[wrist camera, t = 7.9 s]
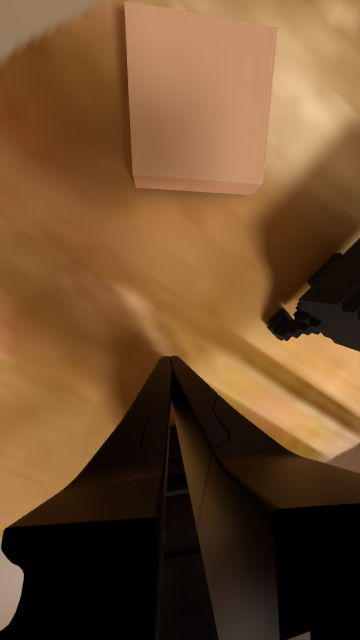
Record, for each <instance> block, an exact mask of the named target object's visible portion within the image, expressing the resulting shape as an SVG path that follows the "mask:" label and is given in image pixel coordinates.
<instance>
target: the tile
mask: <svg viewBox="0 0 360 640" xmlns="http://www.w3.org/2000/svg"><path fill="white" fill-rule="evenodd" d="M124 5H125V26H126V47H127V68H128V89H129V110H130V131H131V153H132V174H133V179H134V182H135V186H136V188H149V189H165V190H181V191H197V192H212V193H228V194H244V195H252V194H253V193H254V192H255V191H256V190H257V189H259V188H260V187H261V186H262V185H263V178H264V167H265V156H266V146H267V135H268V124H269V114H270V103H271V92H272V82H273V71H274V61H275V50H276V39H277V29H278V28H277V27H271V26H266V25H260V24H254V23H249V22H243V21H237V20H232V19H226V18H220V17H215V16H209V15H203V14H198V13H192V12H186V11H180V10H175V9H169V8H163V7H158V6H152V5H146V4H141V3H135V2H129V1H124Z"/></svg>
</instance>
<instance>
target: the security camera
mask: <svg viewBox="0 0 360 640" xmlns="http://www.w3.org/2000/svg"><path fill="white" fill-rule="evenodd" d="M307 282H308V284H309V285H310V286H311V288H310V289H309V290H308V291H307V292H306V293H305V294H304V295H303V296H302V297H301V298H300V299H299V302H298V303H297V305H298V306H297V307H296V309H297V311H296V312H295V313H294V314H293V315H294V316H295V317H294V318H295V319H293V318H292V317H291V316H290V315H289V314H288V313H287V312H286V310H285V309H279V310H278V312H277V313H276V314H275V315H274V316H273V317H272V318H271V319H270V320H269V321H268V323H269V324H270V325H269V326H268V327H267V328H268V329H269V330H270V331H271V332H272V333H273V334H274V335H275V336H276V338H277V339H279V340H281V341H282V340H283V339H284V340H286V341H288V340H289V339H290V338H291V337H292V336H293V337H295V338H298V337H299V336H300V335H301V334H302V333H303V334H306V335H309V334H310V333H314V334H317V335H318V334H319V333H320V332H321V333H322V334H323V335H324V336H325V337H328V338H331V339H332V340H333V341H334V343H336V344H339V345H342V346H345V347H348V348H351V349H354V350H357V351H360V238H359V239H358V240H357V241H356V242H355V243H354V244H353V245H352V246H351V247H350V248H349V249H348V250H347V251H346V252H345V253H344V254H343V255H342V254H341V253H336V254H334V255H333V256H332V257H331V258H330V259H329V260H328V261H327V262H326V263H325V264H324V265H323V266H322V267H321V268H320V269H319V270H318V271H317V272H316V273H315V274H314V275H313V276H312V277H311V278H310V279H309V280H308V281H307Z"/></svg>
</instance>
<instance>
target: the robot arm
mask: <svg viewBox="0 0 360 640" xmlns="http://www.w3.org/2000/svg"><path fill="white" fill-rule="evenodd" d="M171 402H172V408H173V413H174V418H175V423H176V426H174V427H170V413H171ZM1 550H2V552H3V553H4V555H5V556H6V557H7V559H9V560H10V562H12V563H13V564H15V565H18V566H19V567H20V568H21V569H22V570H23V573H24V581H23V588H22V593H21V598H20V601H19V604H18V607H17V610H16V613H15V615H14V617H13V618H12V620H11V622H10V623H9V625H8V626H6V627H5V628H4V629H3V630H1V631H0V640H360V473H357V472H354V471H351V470H347V469H344V468H340V467H337V466H333V465H330V464H326V463H323V462H319V461H316V460H312V459H309V458H305V457H302V456H300V455H297V454H295V453H293V452H291V451H289V450H288V449H286V448H285V447H283V446H282V445H280V444H279V443H277V442H276V441H275V440H273V439H272V438H271V437H270V436H268V435H267V434H266V433H264V432H263V431H262V430H261V429H259V428H258V427H257V426H255V425H254V424H253V423H252V422H250V421H249V420H248V419H246V418H245V417H244V416H243V415H241V414H240V413H239V412H238V411H237V410H235V409H234V408H233V407H232V406H231V405H230V404H229V403H227V402H226V401H225V400H224V399H223V398H222V397H221V396H220V395H218V393H217V392H216V391H214V390H213V389H212V388H211V387H210V386H209V385H208V384H207V383H206V382H205V381H204V380H203V379H202V378H201V377H200V376H198V375H197V374H196V373H195V372H194V371H193V370H192V369H191V368H190V367H189V366H188V365H187V364H186V363H185V362H184V361H183V360H181V359H180V358H179V357H178V356H170V357H169V356H162V357H161V358H160V360H159V361H158V363H157V364H156V366H155V368H154V369H153V371H152V373H151V374H150V376H149V377H148V379H147V381H146V382H145V384H144V386H143V387H142V389H141V390H140V392H139V394H138V395H137V397H136V399H135V400H134V402H133V403H132V405H131V407H130V408H129V410H128V411H127V413H126V414H125V416H124V417H123V419H122V420H121V422H120V423H119V424H118V426H117V427H116V428H115V430H114V431H113V432H112V433H111V435H110V436H109V437H108V439H107V440H106V441H105V442H104V444H103V445H102V446H101V447H100V449H99V450H98V451H97V452H96V454H95V455H94V456H93V457H92V459H91V460H90V461H89V462H88V464H87V465H86V466H85V467H84V469H83V470H82V471H81V472H80V473H79V475H78V476H77V477H76V478H75V479H74V480H73V481H72V482H71V483H70V484H69V485H67V486H66V487H65V488H64V489H63V490H61V491H60V492H59V493H57V494H56V495H54V496H53V497H51V498H50V499H48V500H47V501H45V502H44V503H42V504H41V505H40V506H38V507H37V508H35V509H34V510H32V511H31V512H29V513H28V514H26V515H25V516H23V517H22V518H20V519H19V520H17V521H16V522H14V523H13V524H11V525H10V526H8V527H7V528H6V529H5V530H4V532H3V538H2V544H1Z"/></svg>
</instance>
